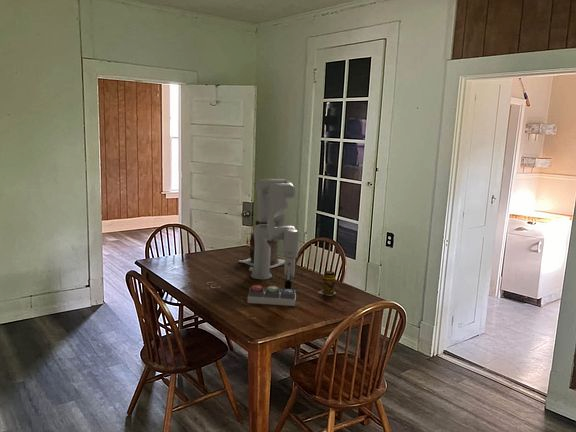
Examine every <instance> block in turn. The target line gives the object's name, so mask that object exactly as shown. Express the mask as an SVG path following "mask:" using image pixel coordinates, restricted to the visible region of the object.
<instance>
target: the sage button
mask: <svg viewBox="0 0 576 432" xmlns="http://www.w3.org/2000/svg"><path fill="white" fill-rule="evenodd" d="M267 288H268V289H267V292H270V293H277V292H278V289H279V288H278V286H276V285H274V286H273V285H270V286H267Z"/></svg>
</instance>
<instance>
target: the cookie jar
mask: <svg viewBox="0 0 576 432" xmlns="http://www.w3.org/2000/svg"><path fill="white" fill-rule="evenodd" d="M259 224H267V222H260V221H259V220H258V219H256V220H255V226H257V225H259ZM267 243H268V244H269V245H270V247H271V254H270V270H271V269H273V268H276V267H280V266H284V263H285V259H281V258H279V254H280V248H279V241H274V240H268V241H267ZM249 246H250V248H249V251H250V252H249V258H247V259H243V260H241V259H240V260H238V262H239V263H241V264H246V265H248V266H250V267H254V251H255V240H254V230H253V231H252V232H251V233H250V239H249Z"/></svg>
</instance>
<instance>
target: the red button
mask: <svg viewBox="0 0 576 432" xmlns="http://www.w3.org/2000/svg"><path fill="white" fill-rule="evenodd" d="M251 287H252V291H254V292H261V291H262V288H263V286H262V285H258V284H253V285H252V286H251Z"/></svg>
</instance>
